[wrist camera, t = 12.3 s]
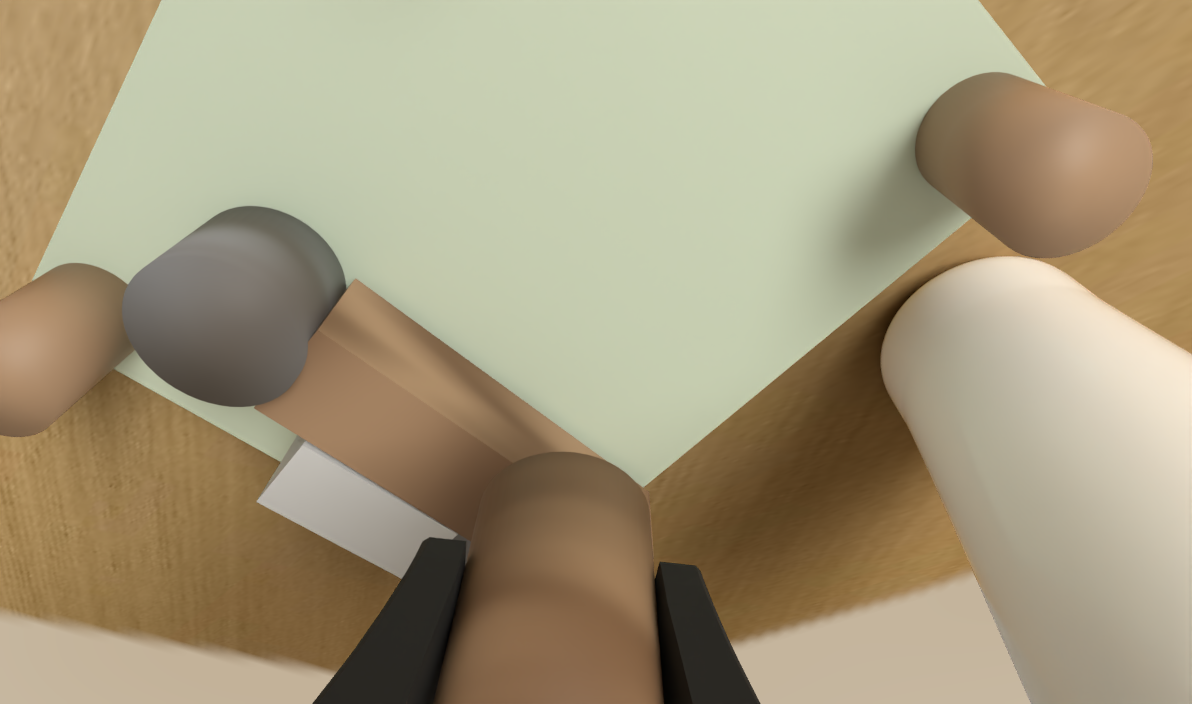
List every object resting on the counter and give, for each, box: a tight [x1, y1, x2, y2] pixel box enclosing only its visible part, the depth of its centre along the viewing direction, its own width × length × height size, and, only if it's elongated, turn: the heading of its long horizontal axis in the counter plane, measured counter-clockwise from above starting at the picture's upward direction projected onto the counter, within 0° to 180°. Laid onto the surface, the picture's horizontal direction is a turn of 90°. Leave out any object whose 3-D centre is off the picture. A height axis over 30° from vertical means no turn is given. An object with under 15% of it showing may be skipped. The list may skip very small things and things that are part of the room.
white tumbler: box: [880, 256, 1192, 704], centre depth 13 cm, size 7×7×15 cm
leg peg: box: [433, 452, 664, 704], centre depth 10 cm, size 3×3×6 cm
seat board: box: [0, 0, 1153, 579], centre depth 15 cm, size 17×21×5 cm
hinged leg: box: [122, 206, 654, 559], centre depth 17 cm, size 13×4×3 cm, turn 47°
